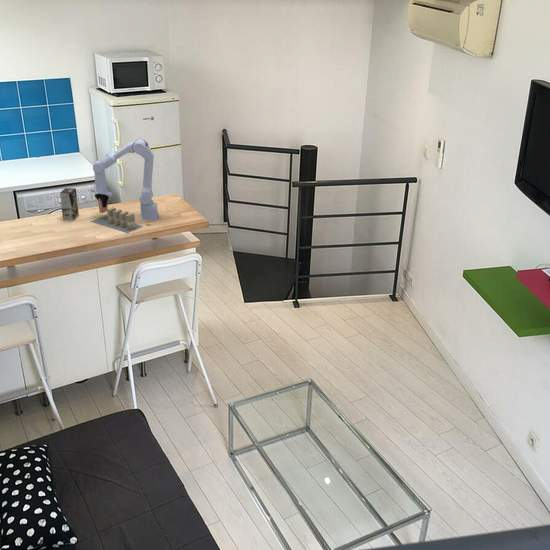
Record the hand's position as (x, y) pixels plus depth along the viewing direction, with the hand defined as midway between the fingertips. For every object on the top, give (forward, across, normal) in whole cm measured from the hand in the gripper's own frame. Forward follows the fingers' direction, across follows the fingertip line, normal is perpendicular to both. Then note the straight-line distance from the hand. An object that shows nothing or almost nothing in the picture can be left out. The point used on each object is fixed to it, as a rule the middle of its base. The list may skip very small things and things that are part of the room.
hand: (103, 206), depth 344 cm
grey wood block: (+6, +9, -3) cm, 12 cm away
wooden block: (+6, +18, -3) cm, 20 cm away
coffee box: (+7, -14, -11) cm, 19 cm away
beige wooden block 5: (+6, +23, -3) cm, 24 cm away
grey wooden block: (+6, +14, -3) cm, 16 cm away
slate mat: (+7, +12, -3) cm, 14 cm away
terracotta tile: (+3, 0, 0) cm, 3 cm away
